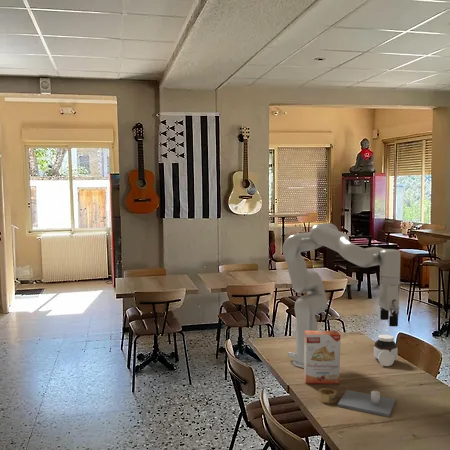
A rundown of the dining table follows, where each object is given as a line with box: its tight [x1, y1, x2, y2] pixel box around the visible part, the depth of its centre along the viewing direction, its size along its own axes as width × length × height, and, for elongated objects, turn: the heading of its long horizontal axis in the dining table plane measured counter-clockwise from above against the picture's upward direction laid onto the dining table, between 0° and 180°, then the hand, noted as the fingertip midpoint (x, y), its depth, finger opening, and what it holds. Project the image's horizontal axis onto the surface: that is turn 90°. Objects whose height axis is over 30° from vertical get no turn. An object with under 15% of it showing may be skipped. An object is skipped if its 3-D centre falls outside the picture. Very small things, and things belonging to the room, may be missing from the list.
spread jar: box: [373, 334, 399, 367], centre depth 219 cm, size 12×11×12 cm
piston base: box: [337, 389, 396, 418], centre depth 175 cm, size 18×14×5 cm
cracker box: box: [303, 330, 341, 385], centre depth 196 cm, size 14×6×21 cm, turn 90°
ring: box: [317, 387, 338, 404], centre depth 179 cm, size 7×7×3 cm
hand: (388, 322), depth 189 cm, fingers open, 9 cm apart
